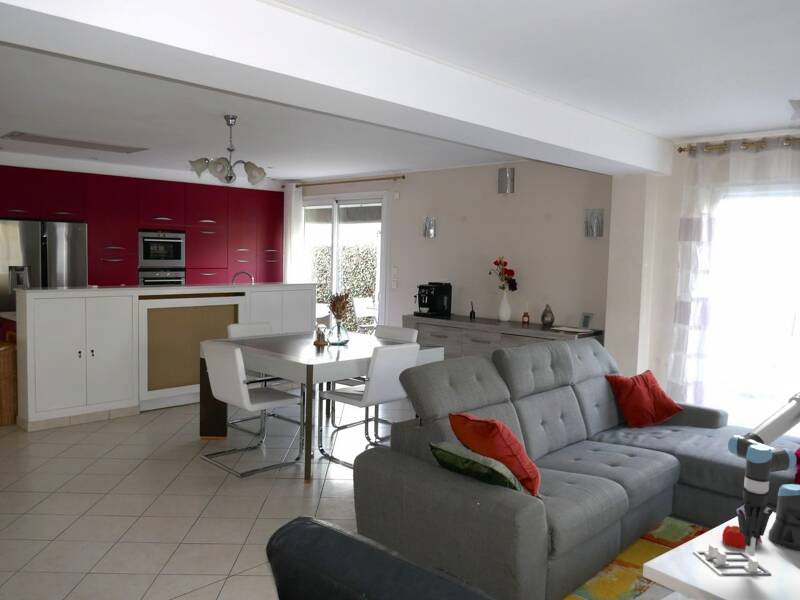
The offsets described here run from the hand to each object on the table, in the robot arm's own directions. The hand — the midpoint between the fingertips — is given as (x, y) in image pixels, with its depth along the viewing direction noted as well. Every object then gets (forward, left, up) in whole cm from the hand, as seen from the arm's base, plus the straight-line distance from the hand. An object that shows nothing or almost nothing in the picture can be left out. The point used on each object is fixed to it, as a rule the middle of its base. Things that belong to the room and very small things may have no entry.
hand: (749, 554), depth 225 cm
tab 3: (-2, 0, -6) cm, 6 cm away
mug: (-20, -26, -8) cm, 34 cm away
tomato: (-9, -21, -8) cm, 24 cm away
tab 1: (+7, -10, -6) cm, 14 cm away
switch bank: (+3, -5, -8) cm, 10 cm away
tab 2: (+7, -5, -6) cm, 11 cm away
